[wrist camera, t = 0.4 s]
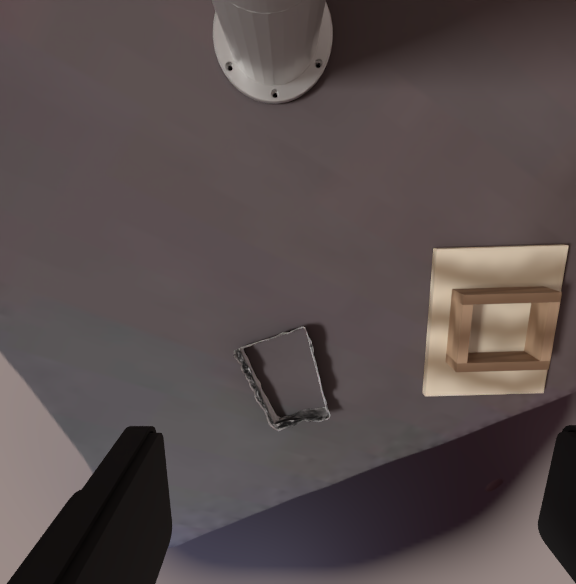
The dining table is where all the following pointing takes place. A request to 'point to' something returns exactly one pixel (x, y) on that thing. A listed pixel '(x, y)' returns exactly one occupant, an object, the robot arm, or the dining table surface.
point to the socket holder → (492, 319)
